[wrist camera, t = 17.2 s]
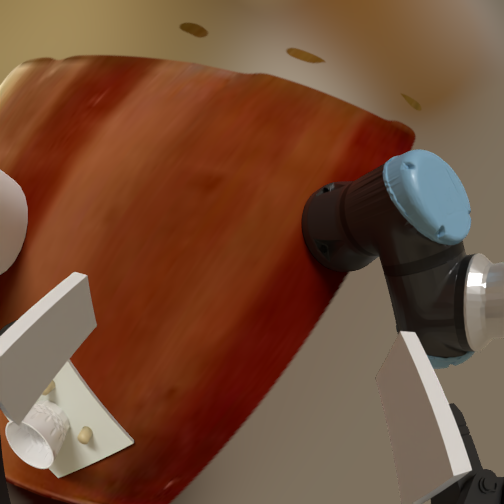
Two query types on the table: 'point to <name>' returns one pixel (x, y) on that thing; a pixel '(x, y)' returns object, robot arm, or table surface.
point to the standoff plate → (82, 423)
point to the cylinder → (11, 220)
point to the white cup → (39, 434)
